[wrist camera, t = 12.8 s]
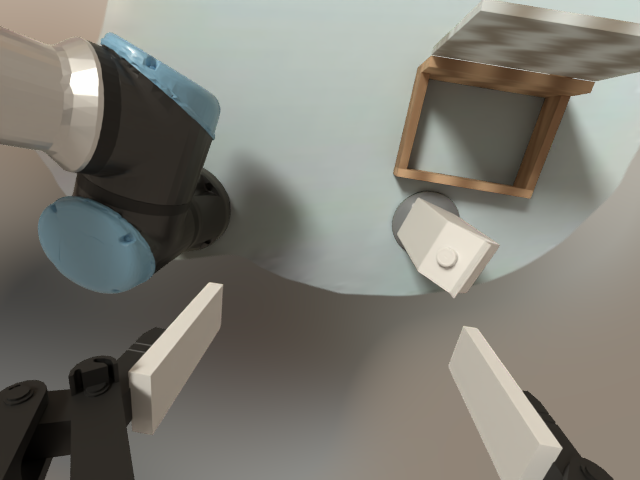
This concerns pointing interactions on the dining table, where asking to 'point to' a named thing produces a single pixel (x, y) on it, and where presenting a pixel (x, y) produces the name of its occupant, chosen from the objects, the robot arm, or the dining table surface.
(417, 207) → the milk carton
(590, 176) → the dining table surface
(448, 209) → the disc
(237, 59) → the dining table surface
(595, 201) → the dining table surface
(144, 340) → the robot arm
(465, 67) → the cold frame
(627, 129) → the dining table surface
